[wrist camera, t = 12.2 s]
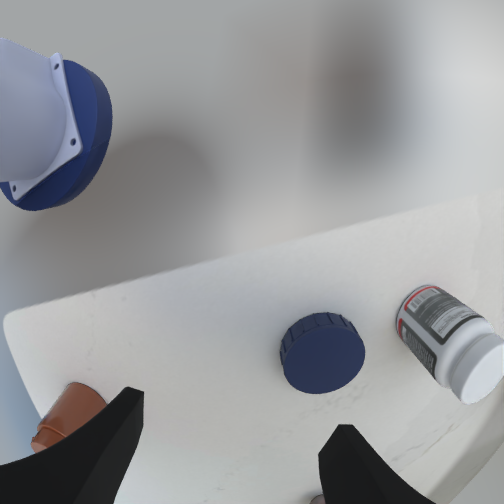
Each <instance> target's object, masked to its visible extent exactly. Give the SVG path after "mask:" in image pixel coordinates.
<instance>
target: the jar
mask: <svg viewBox="0 0 504 504" xmlns="http://www.w3.org/2000/svg"><path fill="white" fill-rule="evenodd" d="M106 406H107V404H106V403H105V401H104V400H103V399H102V397H101V396H100V395H99V394H98V393H96V392H95V391H94V390H93V389H91V388H89V387H88V386H86V385H83V384H81V383H70V384H68V386H67V387H66V388H65V389H64V391H63V392H62V393H61V395H60V396H59V397H58V399H57V400H56V401H55V403H54V404H53V405H52V407H51V408H50V410H49V411H48V412H47V414H46V415H45V416H44V418H43V419H42V421H41V422H40V423H39V425H38V427H37V431H38V433H37V435H36V436H35V437H33V438H32V442H31V447H32V449H33V450H34V452H35V453H37V452H40V451H42V450H44V449H46V448H48V447H50V446H52V445H53V444H55V443H57V442H59V441H60V440H62V439H64V438H65V437H67V436H68V435H70V434H71V433H73V432H74V431H76V430H77V429H78V428H80V427H81V426H83V425H84V424H85V423H87V422H88V421H89V420H90V419H92V418H93V417H94V416H95V415H96V414H98V413H99V412H100V411H101V410H102V409H103V408H105V407H106Z"/></svg>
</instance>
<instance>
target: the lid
mask: <svg viewBox="0 0 504 504" xmlns="http://www.w3.org/2000/svg"><path fill="white" fill-rule="evenodd" d="M280 357H281V363H282V365H283V369H284V375H285V377H286V379H287V380H288V382H289V383H290V384H291V385H292V386H293V387H294V388H296V389H297V390H300V391H302V392H305V393H310V394H322V393H328V392H332V391H335V390H337V389H339V388H341V387H343V386H345V385H346V384H348V383H349V382H350V381H351V380H352V379H353V378H354V377H355V376H356V375H357V374H358V373H359V371H360V369H361V368H362V365H363V363H364V359H365V347H364V344H363V341H362V339H361V338H360V336H359V334H358V332H357V331H356V329H355V327H354V326H353V324H352V323H351V322H349V321H348V320H347V319H345V318H344V317H342V315H337V314H333V313H329V312H327V313H317V314H313V315H309V316H307V317H305V318H303V319H300V320H299V321H298V322H297V323H295V324H294V325H293V326H292V327H291V328H289V329H288V332H287V333H286V335H285V337H284V339H283V340H282V345H281V351H280Z"/></svg>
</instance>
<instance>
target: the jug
mask: <svg viewBox="0 0 504 504" xmlns="http://www.w3.org/2000/svg"><path fill="white" fill-rule="evenodd" d="M310 504H325V499H324V496H323V495H319V496H317V497H316V498H314V499H313V500H312V501H311V503H310Z"/></svg>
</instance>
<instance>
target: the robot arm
mask: <svg viewBox="0 0 504 504" xmlns="http://www.w3.org/2000/svg"><path fill="white" fill-rule="evenodd" d="M58 66H59V67H58ZM57 67H58V68H57ZM75 139H76V144H75V145H73V142H74V140H75ZM82 151H83V144H82V140H81V137H80V133H79V130H78V126H77V122H76V119H75V115H74V111H73V107H72V102H71V98H70V94H69V89H68V84H67V79H66V74H65V69H64V63H63V57H62V55H61V54H60V53H55V54H54V55H52V56H51V57H50V58H47V57H45V56H43V55H41V54H39V53H37V52H35V51H33V50H31V49H28V48H26V47H24V46H22V45H20V44H17V43H15V42H13V41H11V40H8V39H5V38H0V182H7V181H9V184H10V188H11V192H12V196H13V198H14V200H20V199H21V198H22V197H24V196H25V195H26V194H27V193H28V192H30V191H31V190H32V189H33V188H35V187H36V186H37V185H38V184H40V183H41V182H42V181H44V180H45V179H46V178H48V177H49V176H50V175H52V174H53V173H54V172H56V171H57V170H58V169H60V168H61V167H63V166H64V165H65V164H67V163H68V162H70V161H71V160H73V159H74V158H76V157H77V156H79V155H80V154H81V153H82ZM15 188H16V189H15ZM143 408H144V392H143V391H140V390H137V389H134V388H131V387H125V388H124V389H123V390H122V391H121V392H120V393H119V394H118V395H117V396H116V397H115V398H114V399H113V400H112V401H111V402H110V403H109V404H108V405H107V406H106V407H105V408H103V409H102V410H101V411H100V412H99V413H98V414H96V415H95V416H94V417H93V418H92V419H90V420H89V421H88V422H87V423H85V424H84V425H83V426H81V427H80V428H78V429H77V430H76V431H74V432H73V433H71V434H70V435H68V436H67V437H65V438H64V439H62V440H60V441H59V442H57V443H55V444H53V445H52V446H50V447H48V448H46V449H44V450H42V451H40V452H37V453H35V454H33V455H31V456H29V457H26V458H23V459H21V460H17V461H14V462H11V463H8V464H4V465H0V504H113V503H114V500H115V497H116V494H117V492H118V489H119V487H120V485H121V482H122V480H123V478H124V475H125V473H126V471H127V469H128V466H129V464H130V462H131V459H132V457H133V455H134V453H135V450H136V448H137V445H138V442H139V438H140V435H141V432H142V428H143ZM318 458H319V474H320V480H321V485H322V490H323V494H324V499H325V504H436V503H434V502H432V501H431V500H429V499H427V498H426V497H424V496H423V495H421V494H420V493H419V492H417V491H416V490H415V489H413V488H412V487H411V486H410V485H408V484H407V483H406V482H405V481H404V480H403V479H402V478H401V477H399V476H398V475H397V474H396V473H395V472H394V471H393V470H392V469H391V468H390V467H389V466H388V465H387V464H386V462H385V461H384V460H383V459H382V458H381V457H380V456H379V455H378V454H377V452H376V451H375V450H374V449H373V448H372V447H371V446H370V444H369V443H368V442H367V441H366V440H365V438H364V437H363V436H362V435H361V434H360V433H359V431H358V430H357V429H356V428H355V427H354V426H353V425H348V424H339V425H338V426H337V428H336V429H335V431H334V432H333V434H332V435H331V437H330V438H329V440H328V441H327V442H326V444H325V445H324V447H323V448H322V449H321V451H320V452H319V454H318Z"/></svg>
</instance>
